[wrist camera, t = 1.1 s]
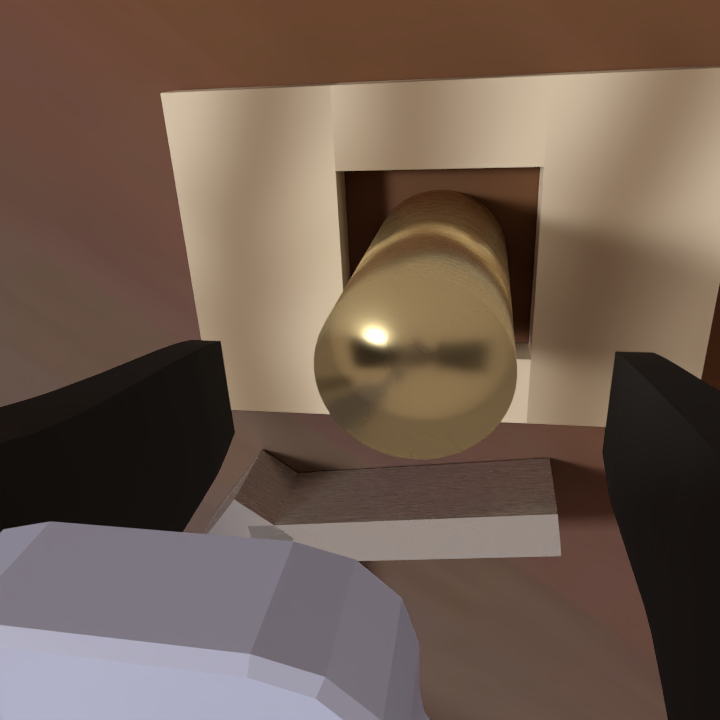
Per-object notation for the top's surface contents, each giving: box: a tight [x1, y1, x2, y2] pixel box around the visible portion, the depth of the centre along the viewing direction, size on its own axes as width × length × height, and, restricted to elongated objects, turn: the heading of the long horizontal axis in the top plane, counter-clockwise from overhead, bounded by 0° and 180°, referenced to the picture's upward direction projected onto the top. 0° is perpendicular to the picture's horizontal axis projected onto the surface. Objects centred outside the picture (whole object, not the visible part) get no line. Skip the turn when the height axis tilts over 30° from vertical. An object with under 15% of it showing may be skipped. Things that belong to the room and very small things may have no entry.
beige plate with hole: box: [161, 66, 720, 427], centre depth 19 cm, size 15×10×1 cm, turn 93°
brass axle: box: [314, 190, 517, 459], centre depth 16 cm, size 4×4×8 cm
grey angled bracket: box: [203, 450, 561, 561], centre depth 24 cm, size 9×16×3 cm, turn 146°
